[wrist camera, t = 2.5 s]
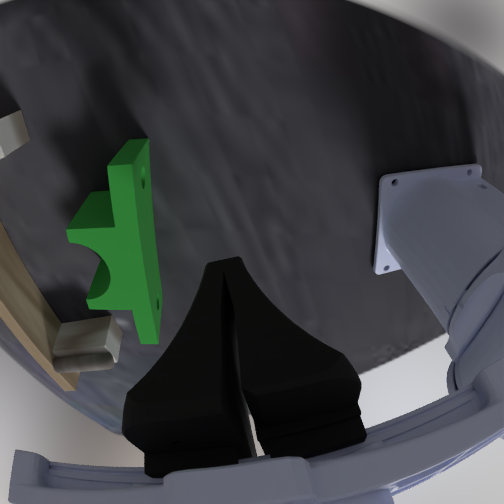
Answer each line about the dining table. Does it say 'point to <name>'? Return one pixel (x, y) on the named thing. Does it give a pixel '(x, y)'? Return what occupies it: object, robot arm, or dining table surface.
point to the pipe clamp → (124, 241)
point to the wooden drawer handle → (38, 310)
